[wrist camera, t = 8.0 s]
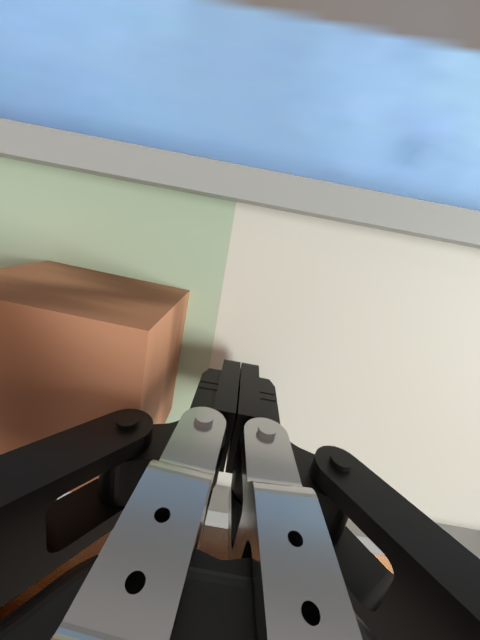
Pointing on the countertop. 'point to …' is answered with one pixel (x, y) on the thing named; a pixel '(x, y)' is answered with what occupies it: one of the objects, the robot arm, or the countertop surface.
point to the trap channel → (334, 314)
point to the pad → (124, 243)
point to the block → (83, 348)
